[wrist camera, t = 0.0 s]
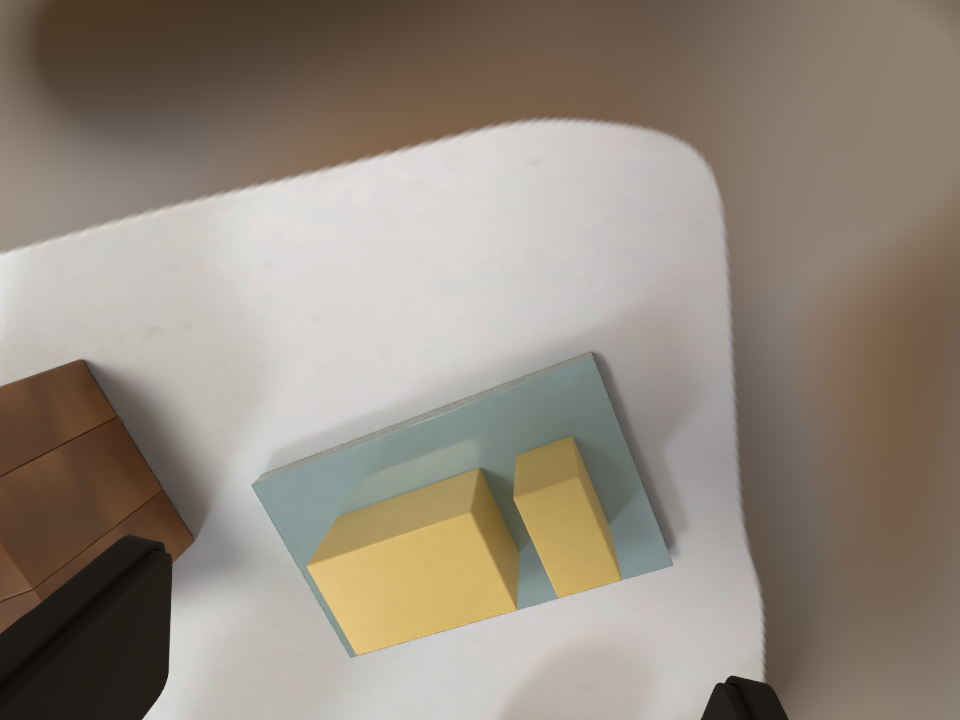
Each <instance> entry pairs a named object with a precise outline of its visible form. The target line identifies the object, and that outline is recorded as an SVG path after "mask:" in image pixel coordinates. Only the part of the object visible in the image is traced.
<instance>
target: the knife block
mask: <svg viewBox="0 0 960 720" xmlns="http://www.w3.org/2000/svg"><path fill="white" fill-rule="evenodd" d="M161 490H162V488H161V486H160V484H159V483H158V481H157V480H156V478H155V476H154V475H153V473H152V471H151V470H150V468H149V467H148V465H147V463H146V462H145V460H144V459H143V457H142V455H141V454H140V452H139V450H138V449H137V447H136V446H135V444H134V442H133V441H132V439H131V438H130V436H129V434H128V433H127V431H126V429H125V428H124V426H123V425H122V423H121V421H120V420H119V418H116V414H115V412H114V410H113V409H112V407H111V406H110V404H109V402H108V401H107V399H106V398H105V396H104V394H103V393H102V391H101V389H100V388H99V386H98V385H97V383H96V381H95V380H94V378H93V377H92V375H91V373H90V372H89V370H88V368H87V367H86V365H85V364H84V362H83V360H76V361H73V362H71V363H68V364H65V365H62V366H59V367H56V368H53V369H50V370H47V371H44V372H41V373H38V374H35V375H33V376H30V377H27V378H24V379H21V380H18V381H15V382H12V383H9V384H6V385H3V386H0V633H2V632H3V631H4V630H5V629H7V628H8V627H9V626H10V625H12V624H13V623H14V622H15V621H17V620H18V619H19V618H20V617H22V616H23V615H25V614H26V613H28V612H29V611H31V610H32V609H34V608H35V607H36V606H37V605H38V604H40V603H41V602H42V601H43V600H45V599H46V598H47V597H48V596H50V595H51V594H52V593H53V592H55V591H56V590H57V589H58V588H59V587H61V586H62V585H63V584H64V583H66V582H67V581H68V580H69V579H71V578H72V577H73V576H74V575H76V574H77V573H78V572H79V571H80V570H82V569H83V568H84V567H85V566H87V565H88V564H89V563H90V562H92V561H93V560H94V559H95V558H97V557H98V556H99V555H100V554H101V553H103V552H104V551H105V550H106V549H108V548H109V547H110V546H111V545H113V544H114V543H115V542H116V541H118V540H119V539H120V538H122V537H123V536H125V535H134V536H138V537H143V538H147V539H151V540H155V541H160V542H162V543H163V544H164V545H165V549H166V553H169V554H171V556H172V563H173V562H174V561H175V560H176V559H177V558H178V557H179V556H180V555H181V554H182V553H183V552H184V551H185V550H186V549H187V548H188V547H189V546H190V545H191V544H192V543H193V542H194V539H193V537H192V536H191V534H190V533H189V531H188V529H187V528H186V526H185V524H184V523H183V521H182V520H181V518H180V516H179V515H178V513H177V512H176V510H175V508H174V507H173V505H172V503H171V502H170V500H169V499H168V497H167V495H166V494H165V492H164V491H163V490H162V491H161Z"/></svg>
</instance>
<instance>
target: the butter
mask: <svg viewBox="0 0 960 720" xmlns="http://www.w3.org/2000/svg"><path fill="white" fill-rule="evenodd" d="M307 569H308V571H309V572H310V574H311V576H312V578H313V579H314V581H315V583H316V585H317V586H318V588H319V590H320V592H321V593H322V595H323V597H324V599H325V600H326V602H327V604H328V606H329V607H330V609H331V611H332V613H333V614H334V616H335V618H336V620H337V621H338V623H339V625H340V627H341V628H342V630H343V632H344V634H345V635H346V637H347V639H348V641H349V642H350V644H351V646H352V648H353V650H354V651H355V653H356V655H362V654H365V653H369V652H372V651H376V650H379V649H383V648H386V647H390V646H393V645H397V644H400V643H404V642H407V641H411V640H414V639H418V638H421V637H425V636H428V635H432V634H435V633H439V632H442V631H446V630H449V629H453V628H456V627H460V626H463V625H467V624H470V623H474V622H477V621H481V620H484V619H488V618H491V617H494V616H498V615H501V614H505V613H508V612H512V611H515V610H517V604H518V578H519V551H518V549H517V547H516V545H515V542H514V540H513V538H512V536H511V534H510V532H509V529H508V527H507V525H506V523H505V521H504V519H503V516H502V514H501V512H500V510H499V508H498V506H497V503H496V501H495V499H494V497H493V495H492V493H491V490H490V488H489V486H488V484H487V482H486V480H485V477H484V475H483V473H482V471H481V469H480V468H477V469H474V470H471V471H468V472H465V473H462V474H460V475H457V476H454V477H451V478H448V479H445V480H442V481H439V482H436V483H433V484H431V485H428V486H425V487H422V488H419V489H416V490H413V491H410V492H407V493H404V494H402V495H399V496H396V497H393V498H390V499H387V500H384V501H381V502H378V503H376V504H373V505H370V506H367V507H364V508H361V509H358V510H355V511H352V512H349V513H347V514H344V515H341V516H338V517H337V518H336V519H335V521H334V523H333V524H332V526H331V527H330V529H329V531H328V532H327V534H326V535H325V537H324V538H323V540H322V542H321V543H320V545H319V546H318V548H317V550H316V551H315V553H314V554H313V556H312V558H311V559H310V561H309V562H308V564H307Z"/></svg>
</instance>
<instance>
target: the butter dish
mask: <svg viewBox="0 0 960 720" xmlns="http://www.w3.org/2000/svg"><path fill="white" fill-rule="evenodd" d="M570 436H572V437H573V438H574V440H575V443H576V445H577V448H578V450H579V453H580V455H581V457H582V460H583V462H584V465H585V467H586V470H587V472H588V475H589V477H590V479H591V482H592V484H593V487H594V489H595V492H596V494H597V496H598V499H599V501H600V504H601V506H602V509H603V511H604V514H605V516H606V518H607V521H608V523H609V526H610V530H611V534H612V538H613V543H614V547H615V551H616V555H617V559H618V564H619V568H620V572H621V576H622V579H621V580H624V579H628V578H631V577H635V576H638V575H642V574H645V573H649V572H652V571H656V570H659V569H663V568H666V567H670V566H673V562H672V559H671V557H670V554H669V551H668V549H667V546H666V544H665V541H664V539H663V536H662V533H661V531H660V528H659V526H658V523H657V520H656V518H655V515H654V513H653V510H652V507H651V505H650V502H649V500H648V497H647V495H646V492H645V489H644V487H643V484H642V482H641V479H640V476H639V474H638V471H637V469H636V466H635V463H634V461H633V458H632V456H631V453H630V451H629V448H628V445H627V443H626V440H625V438H624V435H623V432H622V430H621V427H620V425H619V422H618V419H617V417H616V414H615V412H614V409H613V406H612V404H611V401H610V399H609V396H608V394H607V391H606V388H605V386H604V383H603V381H602V378H601V375H600V373H599V370H598V368H597V365H596V362H595V360H594V357H593V355H592V352H588V353H585V354H582V355H580V356H577V357H574V358H572V359H569V360H566V361H564V362H561V363H558V364H556V365H553V366H550V367H548V368H545V369H542V370H540V371H537V372H534V373H532V374H529V375H526V376H524V377H521V378H518V379H516V380H513V381H510V382H508V383H505V384H502V385H500V386H497V387H494V388H492V389H489V390H486V391H484V392H481V393H478V394H476V395H473V396H470V397H468V398H465V399H462V400H460V401H457V402H454V403H452V404H449V405H446V406H444V407H441V408H438V409H435V410H433V411H430V412H427V413H425V414H422V415H419V416H417V417H414V418H411V419H409V420H406V421H403V422H401V423H398V424H395V425H393V426H390V427H387V428H385V429H382V430H379V431H377V432H374V433H371V434H369V435H366V436H363V437H361V438H358V439H355V440H353V441H350V442H347V443H345V444H342V445H339V446H337V447H334V448H331V449H329V450H326V451H323V452H321V453H318V454H315V455H313V456H310V457H307V458H305V459H302V460H299V461H297V462H294V463H291V464H289V465H286V466H283V467H281V468H278V469H275V470H272V471H270V472H267V473H264V474H262V475H261V476H260V477H259V478H258V479H257V480H256V481H255V482H254V483H253V484H252V487H253V489H254V491H255V492H256V494H257V496H258V498H259V499H260V501H261V503H262V505H263V506H264V508H265V510H266V512H267V513H268V515H269V517H270V519H271V520H272V522H273V524H274V526H275V527H276V529H277V531H278V533H279V534H280V536H281V538H282V539H283V541H284V543H285V545H286V546H287V548H288V550H289V552H290V553H291V555H292V557H293V559H294V560H295V562H296V564H297V566H298V567H299V569H300V571H301V573H302V574H303V576H304V578H305V580H306V581H307V583H308V585H309V586H310V588H311V590H312V592H313V593H314V595H315V597H316V599H317V600H318V602H319V604H320V606H321V607H322V609H323V611H324V613H325V614H326V616H327V618H328V620H329V621H330V623H331V625H332V627H333V628H334V630H335V632H336V633H337V635H338V637H339V639H340V640H341V642H342V644H343V646H344V647H345V649H346V651H347V653H348V654H349V656H350V658H352V657H355V656H359V655H356V653H355V651H354V650H353V648H352V646H351V644H350V642H349V641H348V639H347V637H346V635H345V634H344V632H343V630H342V628H341V627H340V625H339V623H338V621H337V620H336V618H335V616H334V614H333V613H332V611H331V609H330V607H329V606H328V604H327V602H326V600H325V599H324V597H323V595H322V593H321V592H320V590H319V588H318V586H317V585H316V583H315V581H314V579H313V578H312V576H311V574H310V572H309V571H308V569H307V564H308V562H309V561H310V559H311V558H312V556H313V554H314V553H315V551H316V550H317V548H318V546H319V545H320V543H321V542H322V540H323V538H324V537H325V535H326V534H327V532H328V531H329V529H330V527H331V526H332V524H333V523H334V521H335V519H336V518H337V517H338V516H341V515H344V514H347V513H349V512H352V511H355V510H358V509H361V508H364V507H367V506H370V505H373V504H376V503H378V502H381V501H384V500H387V499H390V498H393V497H396V496H399V495H402V494H404V493H407V492H410V491H413V490H416V489H419V488H422V487H425V486H428V485H431V484H433V483H436V482H439V481H442V480H445V479H448V478H451V477H454V476H457V475H460V474H462V473H465V472H468V471H471V470H474V469H477V468H480V469H481V471H482V473H483V475H484V477H485V480H486V482H487V484H488V486H489V488H490V490H491V493H492V495H493V497H494V499H495V501H496V503H497V506H498V508H499V510H500V512H501V514H502V516H503V519H504V521H505V523H506V525H507V527H508V529H509V532H510V534H511V536H512V538H513V540H514V542H515V545H516V547H517V549H518V551H519V578H518V604H517V610H519V609H523V608H526V607H530V606H533V605H537V604H540V603H544V602H547V601H551V600H554V599H558V598H559V597H558V596H557V594H556V592H555V590H554V588H553V586H552V583H551V581H550V579H549V577H548V574H547V572H546V570H545V568H544V566H543V563H542V561H541V559H540V557H539V555H538V552H537V550H536V548H535V546H534V543H533V541H532V539H531V537H530V535H529V532H528V530H527V528H526V526H525V524H524V521H523V519H522V517H521V515H520V512H519V510H518V508H517V506H516V504H515V501H514V499H513V496H514V480H515V465H516V455H518V454H520V453H523V452H526V451H529V450H532V449H535V448H538V447H541V446H544V445H547V444H549V443H552V442H555V441H558V440H561V439H564V438H567V437H570ZM621 580H620V581H621ZM613 583H614V582H613ZM606 585H607V584H606ZM599 587H600V586H599ZM592 589H593V588H592ZM585 591H586V590H585ZM578 593H579V592H578ZM571 595H572V594H571ZM564 597H565V596H564ZM515 611H516V610H515ZM512 612H513V611H512ZM508 613H509V612H508ZM505 614H506V613H505ZM501 615H502V614H501ZM498 616H499V615H498ZM494 617H495V616H494ZM491 618H492V617H491ZM484 620H485V619H484ZM477 622H478V621H477ZM470 624H471V623H470ZM463 626H464V625H463ZM456 628H457V627H456ZM449 630H450V629H449ZM442 632H443V631H442ZM435 634H436V633H435ZM428 636H429V635H428ZM421 638H422V637H421ZM414 640H415V639H414ZM407 642H408V641H407ZM400 644H401V643H400ZM393 646H394V645H393ZM386 648H387V647H386ZM379 650H380V649H379ZM372 652H373V651H372ZM365 654H366V653H365Z"/></svg>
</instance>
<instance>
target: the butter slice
mask: <svg viewBox="0 0 960 720" xmlns="http://www.w3.org/2000/svg"><path fill="white" fill-rule="evenodd" d="M513 499H514V501H515V504H516V506H517V508H518V510H519V512H520V515H521V517H522V519H523V521H524V524H525V526H526V528H527V530H528V532H529V535H530V537H531V539H532V541H533V543H534V546H535V548H536V550H537V552H538V555H539V557H540V559H541V561H542V563H543V566H544V568H545V570H546V572H547V574H548V577H549V579H550V581H551V583H552V586H553V588H554V590H555V592H556V594H557V596H558V597H559V598H561V597H564V596H568V595H571V594H575V593H578V592H582V591H585V590H589V589H592V588H596V587H599V586H603V585H606V584H610V583H613V582H617V581H620V580H621V579H622V576H621V572H620V568H619V564H618V559H617V555H616V551H615V547H614V543H613V538H612V534H611V530H610V526H609V523H608V521H607V518H606V516H605V514H604V511H603V509H602V506H601V504H600V501H599V499H598V496H597V494H596V492H595V489H594V487H593V484H592V482H591V479H590V477H589V475H588V472H587V470H586V467H585V465H584V462H583V460H582V457H581V455H580V453H579V450H578V448H577V445H576V443H575V440H574V438H573V437H572V436H570V437H567V438H564V439H561V440H558V441H555V442H552V443H549V444H547V445H544V446H541V447H538V448H535V449H532V450H529V451H526V452H523V453H520V454H518V455H516V465H515V480H514V496H513Z"/></svg>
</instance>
